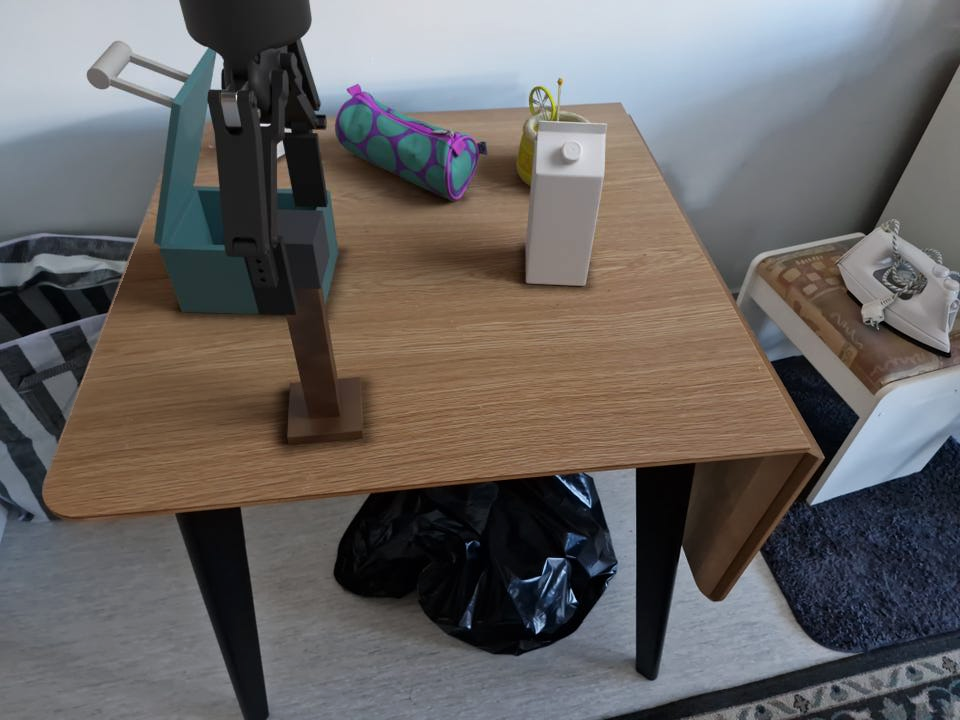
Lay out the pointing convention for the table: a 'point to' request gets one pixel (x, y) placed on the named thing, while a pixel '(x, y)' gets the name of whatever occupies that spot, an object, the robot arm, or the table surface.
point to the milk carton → (564, 201)
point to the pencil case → (408, 145)
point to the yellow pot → (531, 129)
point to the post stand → (319, 379)
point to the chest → (221, 255)
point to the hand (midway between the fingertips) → (296, 253)
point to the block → (304, 245)
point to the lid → (182, 124)
